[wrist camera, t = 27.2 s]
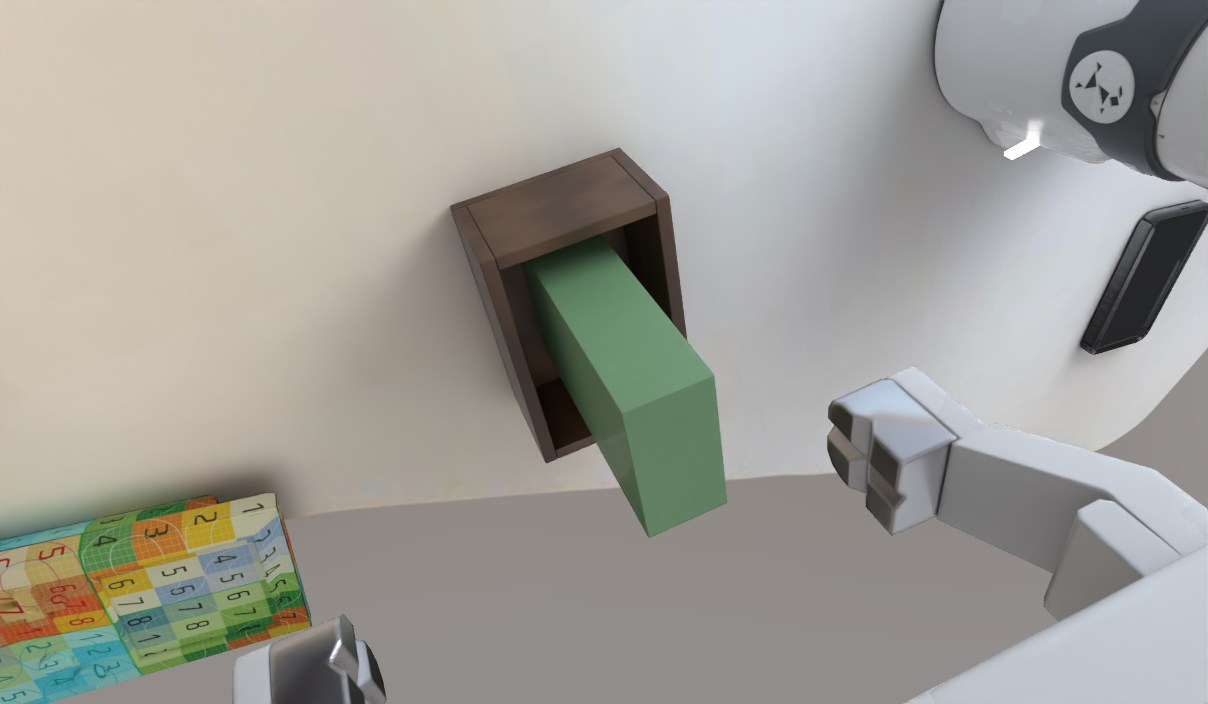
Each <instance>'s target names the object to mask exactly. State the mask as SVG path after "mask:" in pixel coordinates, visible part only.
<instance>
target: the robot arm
mask: <svg viewBox="0 0 1208 704" xmlns="http://www.w3.org/2000/svg"><path fill="white" fill-rule="evenodd" d="M935 68H936V75H937V79H938V83H939V86H940V89H941V91H942V93H943V95H944V97H945V98H946V100H947V101H948V103H949V104H950V105H951V106H952V107H953V108H954V109H955V110H957V111H958V112H960V113H961V114H963V115H965V116H968V117H970V118H973V119H975V120H977V121H978V122H979V123H981V124H982V126H983V129H984V131H985V132H986V134H987V136H988V138H989V139H990V140H991V142H993V143H994V144H996V145H1000V146H1003V147H1006V148H1009V147H1012V148H1010V149H1009V150H1007V151H1005V152H1004V156H1006V157H1008V158H1010V159H1012V160H1013V159H1015V158H1017V157H1019V156H1021V155H1023V154H1024V153H1026V152H1028V151H1030V150H1032V149H1034V148H1035V147H1037V146H1041V147H1044V148H1047V149H1050V150H1053V151H1055V152H1058V153H1061V154H1064V155H1067V156H1070V157H1073V158H1076V159H1079V160H1082V161H1085V162H1088V163H1094V164H1099V163H1103V162H1105V161H1106V160H1109V159H1112V158H1113V159H1115V160H1117V161H1119V162H1122V163H1124V165H1125V166H1128V167H1130V169H1133V170H1135V171H1138V172H1140V173H1143V174H1147V175H1150V176H1152V175H1153V176H1156V177H1159V178H1161V179H1164V180H1168V181H1177V182H1179V181H1190V182H1192V183H1194V184H1197V185H1199V186H1201V187H1204V188H1206V189H1208V0H945V2H944V5H943V8H942V11H941V15H940V19H939V23H938V28H937V34H936V41H935ZM1022 141H1023V142H1022ZM1020 142H1022V143H1020ZM1019 143H1020V144H1019ZM1017 144H1018V145H1017ZM1015 145H1016V146H1015ZM1013 146H1014V147H1013ZM828 418H829V419H830V421H831V422H832V423H833V424H834V427H833V428H832V430H831V431H830V433H829V435H828V436H827V449H828V453H829V456H830V459H831V462H832V464H833V466H834V468H835V470H836V471H837V473H838V474H839V476H840V477H841V478H842V480H843V481H844V482H845V483H846V484H847V486H848V487H849V488H852V489H855V490H858V491H861V492H863V493H866V507H867V509H868V510H869V511H870V512H871V513H872V514H873V515H874V517H875V518H876V519H877V520H878V521H879V522H880V523H881V524H882V526H883V527H884V528H885V529H886V530H887V531H888V532H889V534H890V535H891V536H893V535H896V534H898V533H900V532H903V531H905V530H907V529H909V528H912V527H914V526H916V525H918V524H920V523H923V522H925V521H927V520H930V519H932V518H934V517H936V516H937V519H938V520H940V521H942V522H944V523H947V524H948V525H951V526H953V527H955V528H957V529H959V530H961V531H963V532H966V533H968V534H970V535H972V536H974V537H976V538H978V539H980V540H983V541H985V542H987V543H989V544H991V545H993V546H995V547H997V548H1000V549H1002V550H1004V551H1006V552H1008V553H1011V554H1012V555H1015V556H1017V557H1019V558H1021V559H1023V560H1025V561H1027V562H1029V563H1032V564H1034V565H1036V566H1038V567H1040V568H1042V569H1045V570H1047V571H1049V572H1051V573H1053V576H1052V578H1051V581H1050V583H1049V586H1048V589H1047V591H1046V594H1045V596H1044V607H1045V608H1046V610H1047V611H1048V612H1049V613H1050V614H1051V615H1052V616H1053V617H1054V618H1055V619H1056V620H1057V621H1058V623H1056V624H1054V625H1052V626H1050V627H1048V628H1046V629H1044V630H1042V631H1040V632H1039V633H1037V634H1035V635H1033V636H1031V637H1029V638H1027V639H1025V640H1023V641H1022V642H1020V643H1018V644H1016V645H1014V646H1012V647H1010V648H1008V649H1006V650H1005V651H1003V652H1001V653H999V654H997V655H995V656H993V657H991V658H989V659H987V660H985V661H983V662H982V663H980V664H978V665H976V666H974V667H972V668H970V669H968V670H966V671H964V672H963V673H961V674H959V675H957V676H955V677H953V678H951V679H950V680H948V681H945V682H944V683H942V684H940V685H938V686H936V687H934V688H932V689H930V690H928V691H927V692H925V693H923V694H921V695H919V696H917V697H915V698H913V699H911V700H910V701H907V702H906V703H904V704H1208V509H1206V508H1205V507H1204V506H1202V505H1201V504H1200V503H1199V502H1197V501H1196V500H1194V499H1193V498H1192V497H1190V496H1189V495H1188V494H1186V493H1185V492H1184V491H1182V490H1181V489H1180V488H1179V487H1177V486H1176V485H1175V484H1173V483H1172V482H1171V481H1169V480H1168V479H1167V478H1165V477H1164V476H1163V475H1161V474H1160V473H1159V472H1157V471H1156V470H1154V469H1151V468H1147V467H1144V466H1141V465H1137V464H1134V463H1130V462H1127V461H1123V460H1120V459H1116V458H1113V457H1109V456H1106V455H1102V454H1099V453H1095V452H1092V451H1089V450H1085V449H1082V448H1078V447H1075V446H1071V445H1068V444H1064V443H1061V442H1057V441H1054V440H1050V439H1047V438H1043V437H1040V436H1037V435H1033V434H1030V433H1026V432H1023V431H1019V430H1016V429H1012V428H1009V427H1005V426H1002V425H998V424H992V425H990V426H986V425H985V424H983V423H982V422H981V421H980V420H979V419H978V418H976V417H975V416H974V415H973V414H972V413H970V412H969V411H968V410H967V409H966V408H965V407H963V406H962V405H961V404H960V403H959V402H957V401H956V400H955V399H954V398H953V397H952V396H950V395H949V394H948V393H947V392H946V391H945V390H943V389H942V388H941V387H940V386H939V385H937V384H936V383H935V382H934V381H933V380H932V379H930V378H929V377H928V376H927V375H926V374H924V373H923V372H922V371H921V370H920V369H917V368H914V367H910V368H907V369H904V370H902V371H900V372H898V373H895V374H893V375H891V376H889V377H886V378H885V379H880V380H878V381H875V382H873V383H871V384H869V385H867V386H864V387H862V388H860V389H858V390H856V391H853V392H851V393H849V394H847V395H844V396H842V397H840V398H838V399H836V400H833V401H832V402H831V404H830V406H829V410H828ZM386 700H387V699H386V694H385V689H384V683H383V680H382V676H381V673H380V670H379V667H378V664H377V661H376V659H375V657H374V655H373V653H372V651H371V649H370V648H369V647H368V645H367V644H366V642H365V641H362V640H357V639H355V634H354V628H353V625H352V624H351V622H350V621H349V620H348V619H347V618H346V616H345V615H344V614H343V615H340V616H338V617H336V618H333V619H331V620H328V621H326V622H323V623H321V624H318V625H316V626H314V627H311V628H308V629H306V630H304V631H301V632H299V633H296V634H294V635H291V636H289V637H286V638H284V639H281V640H279V641H277V642H274V643H271V644H269V645H267V646H264V647H262V648H260V649H257V650H255V651H253V652H250V653H248V654H246V655H244V656H241V657H238V658H236V661H235V664H234V668H233V671H232V704H385V702H386Z"/></svg>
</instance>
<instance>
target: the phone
mask: <svg viewBox="0 0 1208 704" xmlns="http://www.w3.org/2000/svg"><path fill="white" fill-rule="evenodd" d="M1207 224H1208V203H1205V202H1203V201H1201V200H1197V201H1192V202H1188V203H1183V204H1179V205H1175V206H1170V207H1166V208H1161V209H1157V210H1153V211H1151V212H1149V213H1148V214H1146V215H1145V216H1144V217H1143V218H1142V220H1141V221H1140V223H1139V224H1138V226H1137V228H1136V230H1135V232H1134V235H1133V237H1132V239H1131V241H1130V243H1129V245H1128V247H1127V249H1126V251H1125V253H1124V255H1123V257H1122V259H1121V261H1120V264H1119V266H1118V268H1117V270H1116V272H1115V274H1114V276H1113V278H1112V280H1111V282H1110V284H1109V286H1108V288H1107V291H1106V293H1105V295H1104V297H1103V299H1102V301H1101V303H1100V305H1099V307H1098V309H1097V311H1096V313H1095V315H1094V317H1093V320H1092V322H1091V324H1090V326H1089V328H1088V330H1087V332H1086V334H1085V336H1084V338H1083V340H1082V343H1081V347H1082V348H1083V349H1084V350H1086V351H1087V352H1089V353H1090V354H1092V355H1096V354H1099V353H1102V352H1106V351H1109V350H1113V349H1116V348H1119V347H1123V346H1126V345H1129V344H1133V343H1136V342H1138V341H1140V340H1142V339H1143V338H1144V337H1145V336H1146V335H1147V334H1148V332H1149V330H1150V329H1151V327H1152V325H1153V323H1154V321H1155V319H1156V318H1157V316H1158V314H1159V312H1160V310H1161V308H1162V306H1163V305H1164V303H1165V301H1166V299H1167V297H1168V295H1169V294H1170V292H1171V290H1172V288H1173V286H1174V284H1175V283H1176V281H1177V279H1178V277H1179V275H1180V273H1181V271H1182V270H1183V268H1184V266H1185V264H1186V262H1187V260H1188V259H1189V257H1190V255H1191V253H1192V251H1193V249H1194V248H1195V246H1196V244H1197V242H1198V240H1199V238H1200V237H1201V235H1202V233H1203V231H1204V229H1205V227H1206V226H1207Z"/></svg>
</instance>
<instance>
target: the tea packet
mask: <svg viewBox="0 0 1208 704" xmlns="http://www.w3.org/2000/svg"><path fill="white" fill-rule="evenodd" d="M521 265H522V268H523V272H524V275H525V279H526V282H527V285H528V289H529V292H530V296H531V299H532V303H533V306H534V309H535V313H536V316H537V320H538V323H539V327H540V330H541V333H542V337H543V340H544V344H545V347H546V351H547V354H548V356H549V358H550V360H551V361H552V363H553V365H554V367H555V369H556V371H557V372H558V374H559V376H560V378H561V380H562V381H563V383H564V385H565V387H566V389H567V390H568V392H569V394H570V396H571V398H572V400H573V401H574V403H575V405H576V407H577V409H578V410H579V412H580V414H581V416H582V418H583V420H584V421H585V423H586V425H587V427H588V429H589V430H590V432H591V434H592V436H593V438H594V439H595V441H596V443H597V445H598V447H599V449H600V450H601V452H602V454H603V456H604V458H605V459H606V461H607V463H608V465H609V467H610V468H611V470H612V472H613V474H614V476H615V478H616V479H617V481H618V483H619V485H620V487H621V488H622V490H623V492H624V494H625V496H626V497H627V499H628V501H629V502H630V505H631V506H632V508H633V510H634V512H635V514H636V516H637V517H638V519H639V521H640V523H641V525H642V526H643V528H644V530H645V532H646V534H647V536H648V537H649V538H650V537H652V536H655V535H657V534H659V533H661V532H664V531H666V530H668V529H670V528H672V527H675V526H677V525H679V524H681V523H684V522H686V521H688V520H690V519H692V518H695V517H697V516H699V515H701V514H704V513H706V512H708V511H710V510H713V509H715V508H717V507H719V506H721V505H724V504H726V503H727V495H726V486H725V476H724V466H723V456H722V446H721V436H720V426H719V416H718V406H717V397H716V387H715V377H714V374H713V373H712V371H711V370H710V369H709V368H708V367H707V365H706V364H705V363H704V362H703V360H702V359H701V358H700V357H699V355H698V354H697V353H696V352H695V350H694V349H693V348H692V347H691V345H690V344H689V343H688V342H687V341H686V339H685V338H684V337H683V336H682V334H681V333H680V332H679V331H678V329H677V328H676V327H675V326H674V324H673V323H672V322H671V321H670V319H669V318H668V317H667V316H666V314H665V313H664V312H663V311H662V310H661V308H660V307H659V306H658V305H657V303H656V302H655V301H654V300H653V298H652V297H651V296H650V295H649V293H648V292H647V291H646V290H645V288H644V287H643V286H642V285H641V283H640V282H639V281H638V280H637V279H636V277H635V276H634V275H633V274H632V272H631V271H630V270H629V269H628V267H627V266H626V265H625V264H624V262H623V261H622V260H621V259H620V257H619V256H618V255H617V254H616V252H615V251H614V250H613V249H612V248H611V246H610V245H609V244H608V243H607V241H606V240H605V239H604V238H603V236H602V235H601V234H599V235H596V236H593V237H591V238H588V239H585V240H582V241H580V242H577V243H574V244H571V245H569V246H566V247H563V248H561V249H558V250H555V251H552V252H550V253H547V254H544V255H541V256H539V257H536V258H533V259H530V260H528V261H525V262H522V263H521Z"/></svg>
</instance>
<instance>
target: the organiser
mask: <svg viewBox="0 0 1208 704" xmlns="http://www.w3.org/2000/svg"><path fill="white" fill-rule="evenodd" d="M450 208H451V211H452V214H453V217H454V220H455V223H456V226H457V229H458V232H459V235H460V238H461V241H462V243H463V246H464V249H465V252H466V255H467V258H468V261H469V264H470V267H471V270H472V273H473V276H474V278H475V281H476V284H477V287H478V290H479V293H480V296H481V299H482V302H483V305H484V308H485V311H486V313H487V316H488V319H489V322H490V325H491V328H492V331H493V334H494V337H495V340H496V343H497V346H498V348H499V351H500V354H501V357H502V360H503V363H504V366H505V369H506V372H507V375H508V378H509V380H510V383H511V386H512V389H513V392H514V395H515V398H516V400H517V402H518V404H519V407H520V409H521V411H522V413H523V415H524V417H525V420H526V422H527V424H528V426H529V428H530V430H531V433H532V435H533V437H534V439H535V441H536V443H537V446H538V448H539V450H540V452H541V454H542V456H543V458H544V461H545V463H549V462H551V461H554V460H556V459H557V457H558V458H561V457H563V456H566V455H568V454H570V453H573V452H575V451H578V450H580V449H582V448H585V447H587V446H590V445H592V444H594V443H596V441H595V439H594V438H593V436H592V434H591V432H590V430H589V429H588V427H587V425H586V423H585V421H584V420H583V418H582V416H581V414H580V412H579V410H578V409H577V407H576V405H575V403H574V401H573V400H572V398H571V396H570V394H569V392H568V390H567V389H566V387H565V385H564V383H563V381H562V380H561V378H560V376H559V374H558V372H557V371H556V369H555V367H554V365H553V363H552V361H551V360H550V358H549V356H548V354H547V351H546V347H545V344H544V340H543V337H542V333H541V330H540V327H539V323H538V320H537V316H536V313H535V309H534V306H533V303H532V299H531V296H530V292H529V289H528V285H527V282H526V279H525V275H524V272H523V268H522V265H521V263H522V262H525V261H528V260H530V259H533V258H536V257H539V256H541V255H544V254H547V253H550V252H552V251H555V250H558V249H561V248H563V247H566V246H569V245H571V244H574V243H577V242H580V241H582V240H585V239H588V238H591V237H593V236H596V235H599V234H601V235H602V236H603V238H604V239H605V240H606V241H607V243H608V244H609V245H610V246H611V248H612V249H613V250H614V251H615V252H616V254H617V255H618V256H619V257H620V259H621V260H622V261H623V262H624V264H625V265H626V266H627V267H628V269H629V270H630V271H631V272H632V274H633V275H634V276H635V277H636V279H637V280H638V281H639V282H640V283H641V285H642V286H643V287H644V288H645V290H646V291H647V292H648V293H649V295H650V296H651V297H652V298H653V300H654V301H655V302H656V303H657V305H658V306H659V307H660V308H661V310H662V311H663V312H664V313H665V314H666V316H667V317H668V318H669V319H670V321H671V322H672V323H673V324H674V326H675V327H676V328H677V329H678V331H679V332H680V333H681V334H682V336H683V337H684V338H685V339H686V341H687V335H686V327H685V319H684V311H683V303H682V295H681V287H680V279H679V271H678V263H677V255H676V247H675V239H674V231H673V223H672V215H671V207H670V199H669V195H668V194H667V193H666V192H665V191H664V190H663V189H662V188H661V187H660V186H659V185H658V184H657V183H656V182H655V181H653V180H652V179H651V178H650V177H649V176H648V175H647V174H646V173H645V172H644V171H643V170H642V169H641V168H640V167H639V166H638V165H637V164H636V163H635V162H634V161H633V160H632V159H631V158H630V157H629V156H628V155H626V154H625V153H624V152H623V151H622V150H621V149H620V148H617V149H614V150H612V151H609V152H606V153H603V154H600V155H597V156H594V157H591V158H588V159H585V160H582V161H580V162H577V163H574V164H571V165H568V166H565V167H562V168H559V169H556V170H553V171H550V172H548V173H545V174H542V175H539V176H536V177H533V178H530V179H527V180H524V181H521V182H519V183H516V184H513V185H510V186H507V187H504V188H501V189H498V190H495V191H492V192H489V193H487V194H484V195H481V196H478V197H475V198H472V199H469V200H466V201H463V202H460V203H457V204H455V205H452V206H450Z"/></svg>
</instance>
